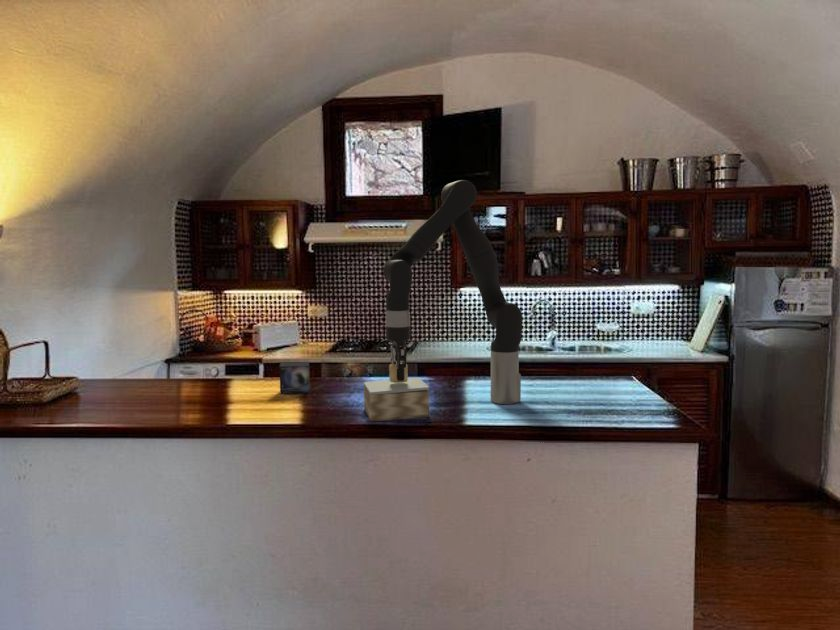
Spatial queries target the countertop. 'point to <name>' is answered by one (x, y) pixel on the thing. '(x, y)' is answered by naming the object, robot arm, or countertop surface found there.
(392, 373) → the tan rounded piece
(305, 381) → the small box
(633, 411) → the countertop surface
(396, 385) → the lid
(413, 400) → the crate
